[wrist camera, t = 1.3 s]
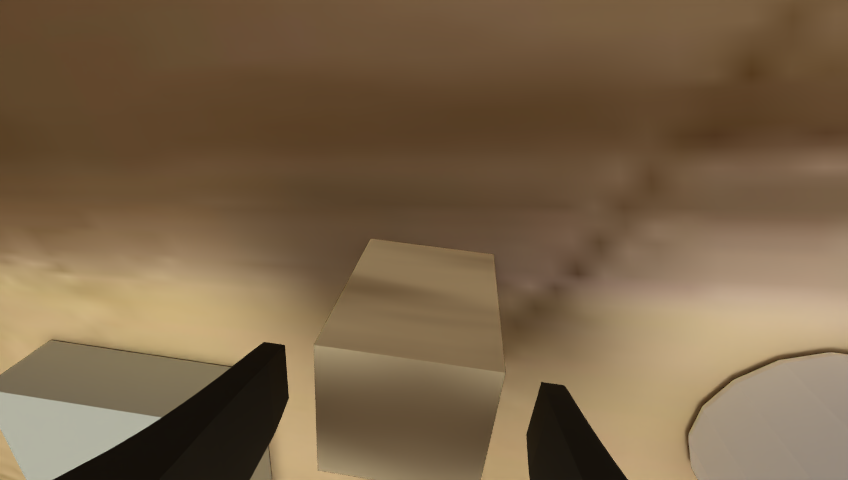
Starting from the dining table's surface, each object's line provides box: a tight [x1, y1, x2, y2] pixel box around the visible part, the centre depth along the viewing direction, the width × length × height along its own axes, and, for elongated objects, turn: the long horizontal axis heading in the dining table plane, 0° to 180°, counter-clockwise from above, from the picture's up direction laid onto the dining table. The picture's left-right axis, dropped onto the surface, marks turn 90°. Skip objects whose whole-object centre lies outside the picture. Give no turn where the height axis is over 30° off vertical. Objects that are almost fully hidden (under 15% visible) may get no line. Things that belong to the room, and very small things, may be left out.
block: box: [314, 239, 506, 480], centre depth 13 cm, size 4×4×6 cm
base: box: [0, 340, 272, 480], centre depth 19 cm, size 10×10×3 cm
